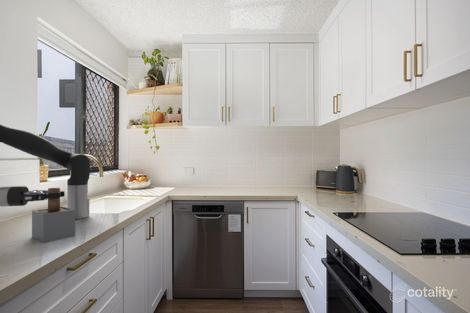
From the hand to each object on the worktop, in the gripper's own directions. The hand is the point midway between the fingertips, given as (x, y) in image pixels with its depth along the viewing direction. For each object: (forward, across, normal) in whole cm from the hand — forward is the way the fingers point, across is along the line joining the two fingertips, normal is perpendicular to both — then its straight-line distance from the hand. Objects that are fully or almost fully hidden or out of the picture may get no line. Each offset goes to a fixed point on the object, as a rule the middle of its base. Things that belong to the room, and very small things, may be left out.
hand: (62, 194), depth 105 cm
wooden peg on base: (-3, 0, +8) cm, 8 cm away
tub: (-3, 0, +16) cm, 17 cm away
